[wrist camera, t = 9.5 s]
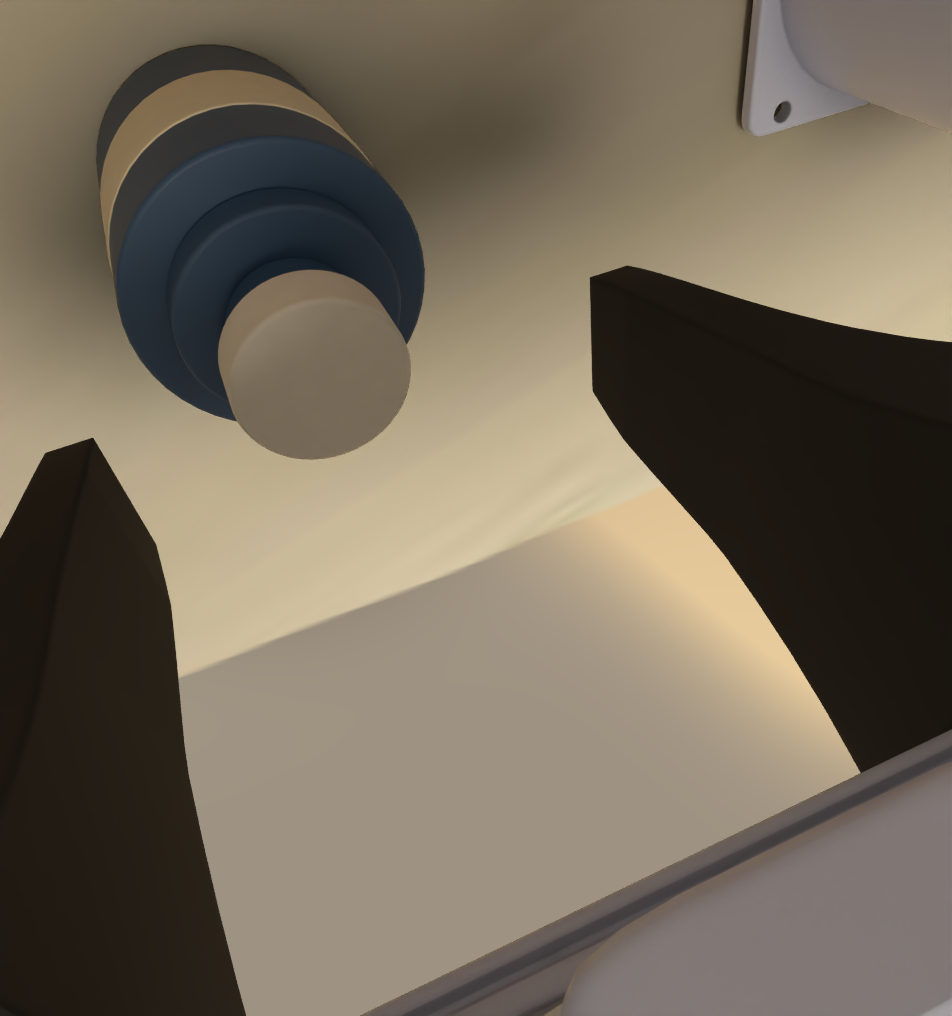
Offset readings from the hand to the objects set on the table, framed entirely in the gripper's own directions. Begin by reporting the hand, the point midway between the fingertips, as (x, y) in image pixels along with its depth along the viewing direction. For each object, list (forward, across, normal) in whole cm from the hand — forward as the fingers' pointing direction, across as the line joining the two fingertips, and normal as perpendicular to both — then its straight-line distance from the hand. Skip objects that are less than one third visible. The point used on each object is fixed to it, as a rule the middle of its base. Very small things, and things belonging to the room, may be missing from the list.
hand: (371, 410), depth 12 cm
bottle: (+9, +1, 0) cm, 9 cm away
